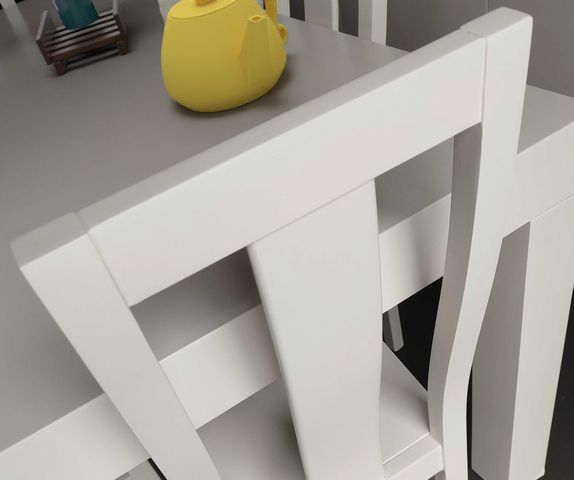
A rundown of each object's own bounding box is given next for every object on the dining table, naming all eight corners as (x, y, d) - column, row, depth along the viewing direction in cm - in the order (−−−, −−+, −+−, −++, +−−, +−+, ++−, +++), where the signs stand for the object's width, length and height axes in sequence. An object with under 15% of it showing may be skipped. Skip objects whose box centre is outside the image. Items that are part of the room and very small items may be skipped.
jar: (172, 42, 98) (143, -40, 89) (218, 27, 98) (194, -57, 89) (176, 60, 92) (146, -26, 83) (226, 44, 92) (201, -45, 83)
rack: (53, 77, 100) (35, 40, 95) (59, 45, 111) (43, 11, 107) (132, 51, 99) (117, 13, 95) (130, 22, 111) (116, -13, 107)
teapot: (152, 100, 83) (113, 2, 74) (258, 44, 88) (234, -54, 79) (227, 137, 70) (190, 23, 61) (345, 69, 75) (328, -44, 66)
